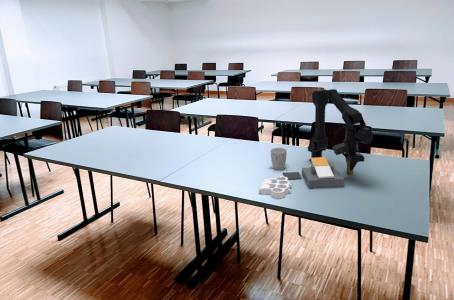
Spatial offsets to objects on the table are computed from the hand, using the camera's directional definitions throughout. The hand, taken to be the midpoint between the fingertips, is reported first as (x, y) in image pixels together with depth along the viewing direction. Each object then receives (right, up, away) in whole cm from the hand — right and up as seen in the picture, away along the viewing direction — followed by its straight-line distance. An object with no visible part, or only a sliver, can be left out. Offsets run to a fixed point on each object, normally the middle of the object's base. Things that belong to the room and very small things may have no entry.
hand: (349, 169), depth 167 cm
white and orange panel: (-14, +1, -2) cm, 14 cm away
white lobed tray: (-36, -10, -6) cm, 38 cm away
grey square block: (-14, -6, 0) cm, 15 cm away
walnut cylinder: (0, -2, +1) cm, 3 cm away
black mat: (-27, -4, +7) cm, 28 cm away
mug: (-31, 0, +20) cm, 37 cm away
